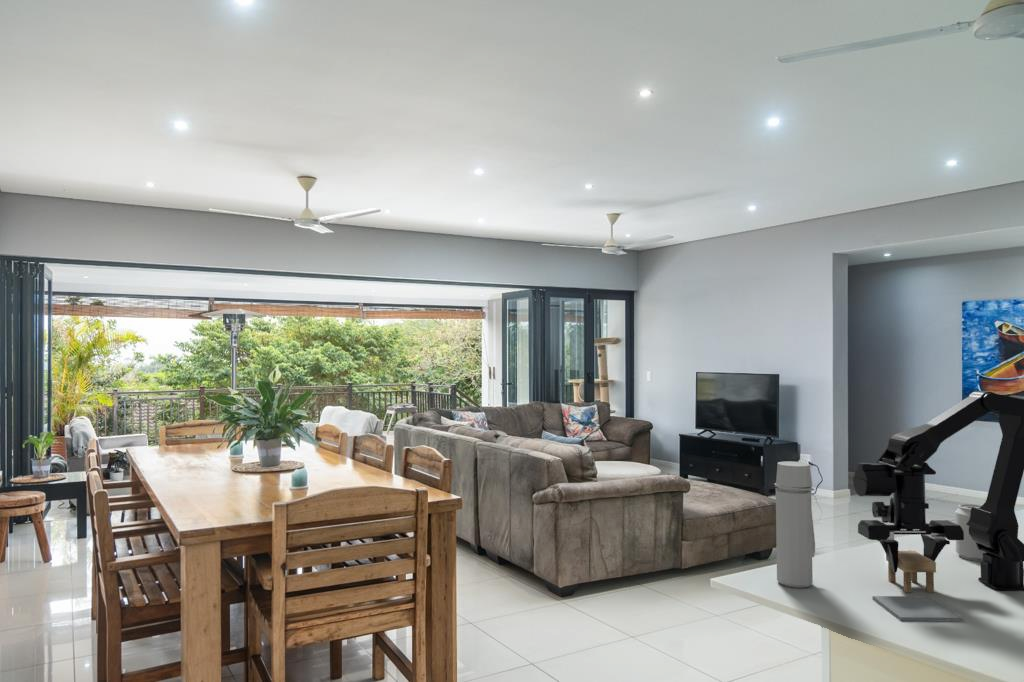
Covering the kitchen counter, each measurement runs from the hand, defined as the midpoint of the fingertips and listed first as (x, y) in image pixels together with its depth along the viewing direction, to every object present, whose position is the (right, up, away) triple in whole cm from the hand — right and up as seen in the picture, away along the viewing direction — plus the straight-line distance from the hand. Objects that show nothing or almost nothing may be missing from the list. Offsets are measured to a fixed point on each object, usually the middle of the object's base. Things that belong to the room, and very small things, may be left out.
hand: (910, 571), depth 146 cm
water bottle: (-22, -4, +3) cm, 22 cm away
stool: (0, -3, 0) cm, 3 cm away
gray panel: (-6, -3, -13) cm, 14 cm away
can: (+26, -3, +20) cm, 33 cm away
